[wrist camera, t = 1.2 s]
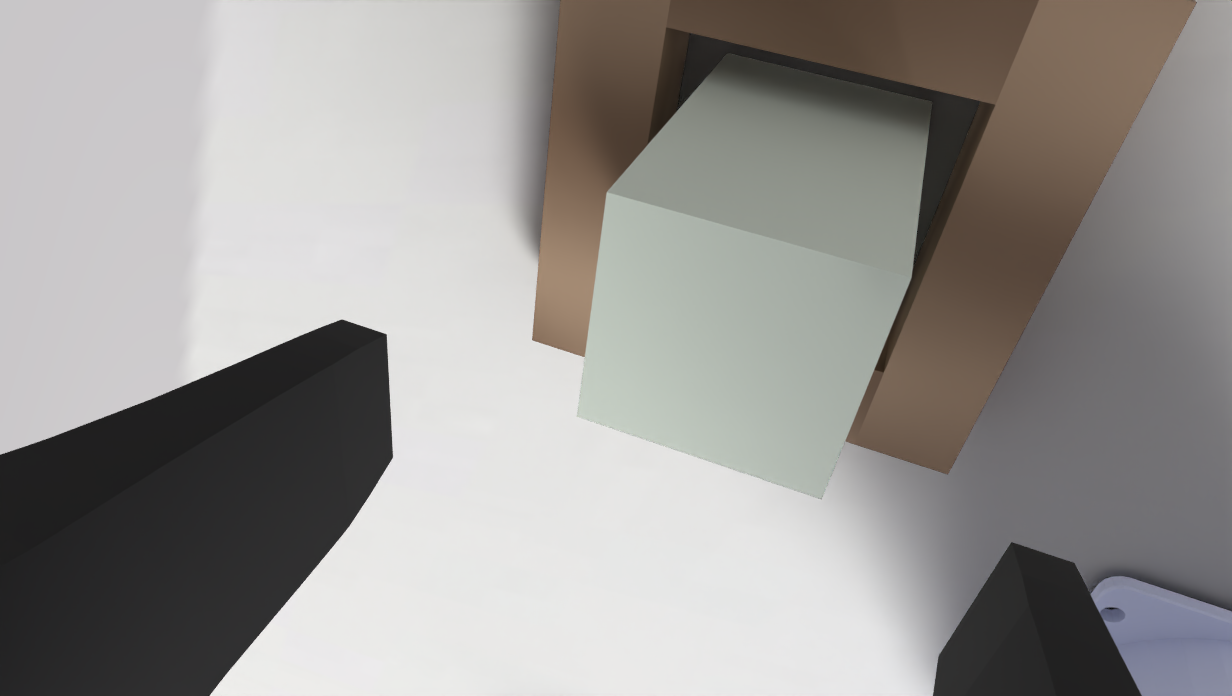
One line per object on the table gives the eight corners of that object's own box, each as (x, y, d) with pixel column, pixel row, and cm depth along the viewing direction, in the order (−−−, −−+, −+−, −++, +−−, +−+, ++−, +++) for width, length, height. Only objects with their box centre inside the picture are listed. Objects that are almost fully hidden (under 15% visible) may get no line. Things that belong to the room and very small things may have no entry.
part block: (866, 280, 18) (822, 499, 13) (690, 229, 19) (576, 416, 13) (932, 101, 16) (910, 277, 10) (727, 52, 16) (606, 192, 11)
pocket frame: (949, 417, 19) (947, 474, 18) (564, 298, 21) (532, 340, 19) (1170, -25, 13) (1196, 2, 12) (611, -136, 15) (570, -125, 14)
